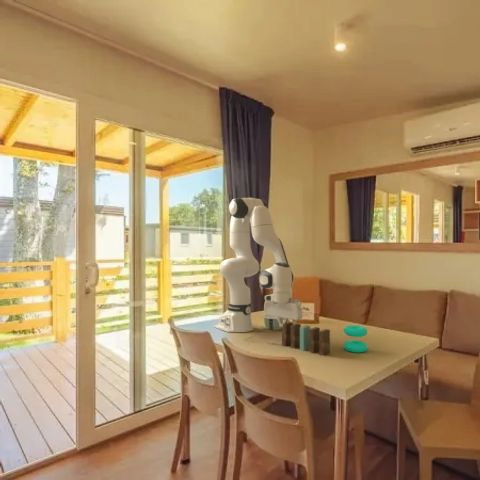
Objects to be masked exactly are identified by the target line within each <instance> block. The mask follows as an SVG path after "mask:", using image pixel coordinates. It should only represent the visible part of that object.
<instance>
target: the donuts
mask: <svg viewBox="0 0 480 480" xmlns="http://www.w3.org/2000/svg"><path fill="white" fill-rule="evenodd" d="M343 332H344V334H345V335H346V336H349V337H353V338H362V337H365V336H366V335H368V329H367V328H366V327H365V326H362V325H355V324H351V325H347V326H344V328H343ZM343 348H344V349H345V350H346V351H348V352H350V353H359V354H360V353H365V352H366V351H367V350H368V348H369V347H368V344H366V342H364V341H361V340H357V339H353V340H352V339H350V340H347V341H345V342H344V344H343Z"/></svg>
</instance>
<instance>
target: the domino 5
mask: <svg viewBox="0 0 480 480" xmlns="http://www.w3.org/2000/svg"><path fill="white" fill-rule="evenodd" d="M330 331H331V329H329V328H328V329H327V328H325V329H321V330H320V331H319V347H320V351H319V355H320V356H326V355H329V354H330V353H331V349H330V348H331V343H330V342H331V337H330V336H331V334H330V333H331V332H330Z"/></svg>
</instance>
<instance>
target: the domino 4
mask: <svg viewBox="0 0 480 480" xmlns="http://www.w3.org/2000/svg"><path fill="white" fill-rule="evenodd" d="M319 331H321V330H320V327H319V326H318V327H317V326H315V327H313V328H312V327H310V329H309V349H308V350H309V353H312V354H315V353H317V352H320V347H319Z"/></svg>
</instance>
